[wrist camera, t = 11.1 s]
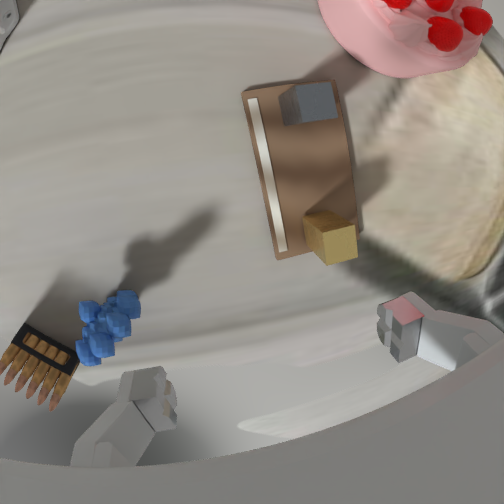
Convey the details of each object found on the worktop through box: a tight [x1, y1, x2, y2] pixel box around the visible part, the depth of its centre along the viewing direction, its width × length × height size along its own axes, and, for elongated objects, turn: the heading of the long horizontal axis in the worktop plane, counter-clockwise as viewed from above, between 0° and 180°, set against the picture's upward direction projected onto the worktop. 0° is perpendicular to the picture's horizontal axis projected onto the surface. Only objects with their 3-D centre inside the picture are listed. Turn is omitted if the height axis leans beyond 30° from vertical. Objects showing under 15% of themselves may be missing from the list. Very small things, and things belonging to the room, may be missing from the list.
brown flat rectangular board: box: [241, 80, 360, 260], centre depth 34 cm, size 20×11×1 cm, turn 12°
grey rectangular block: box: [278, 82, 338, 126], centre depth 28 cm, size 4×4×7 cm
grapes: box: [76, 290, 141, 366], centre depth 31 cm, size 12×7×12 cm, turn 130°
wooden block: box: [302, 210, 358, 266], centre depth 33 cm, size 4×4×7 cm
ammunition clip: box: [0, 323, 80, 411], centre depth 32 cm, size 11×2×12 cm, turn 59°
